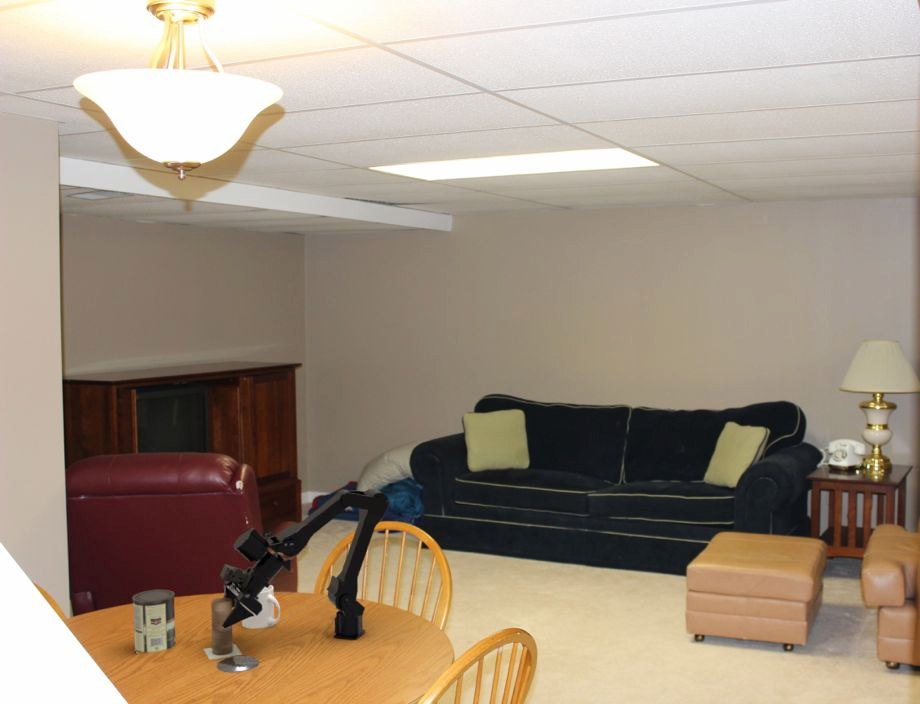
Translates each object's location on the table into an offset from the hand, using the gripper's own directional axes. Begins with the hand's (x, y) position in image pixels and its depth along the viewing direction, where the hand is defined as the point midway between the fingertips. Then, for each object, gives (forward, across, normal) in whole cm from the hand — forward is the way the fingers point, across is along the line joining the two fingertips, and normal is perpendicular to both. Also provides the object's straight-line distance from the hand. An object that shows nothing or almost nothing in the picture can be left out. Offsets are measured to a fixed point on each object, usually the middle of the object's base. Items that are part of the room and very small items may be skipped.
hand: (219, 621), depth 253 cm
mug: (-4, -16, +17) cm, 24 cm away
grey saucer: (+5, +10, +8) cm, 14 cm away
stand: (+6, 0, +7) cm, 9 cm away
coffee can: (+16, -12, -3) cm, 21 cm away
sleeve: (+5, 0, +6) cm, 8 cm away
